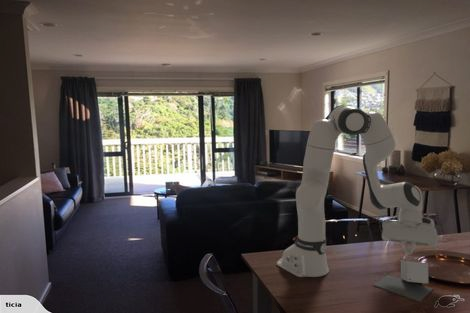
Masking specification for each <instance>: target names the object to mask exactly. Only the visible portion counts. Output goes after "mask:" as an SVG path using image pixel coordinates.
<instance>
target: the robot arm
mask: <svg viewBox="0 0 470 313" xmlns="http://www.w3.org/2000/svg"><path fill="white" fill-rule="evenodd" d="M341 134H345V135H348V136H355V135H360V137H361V139H362V142H363V144H364V147H365V152H364V154H363V155H362V165H363V169H364V170H363V171H364V174H365V178H366V182H367V186H368V192H369V200H370V203H371V205H372V206H373V207H375V208H376V209H378V210H382V211H383V210H386V209H390V208H397V207H398V208H399V212H398V219H385V220H383V221H382V225H381V226H382V233H381V239H382V240H383V241H385V242H392V243H399V244H401V246H402V248H403V251H404V252H403V253H404V254H406V255H407V254H408V255H413V251H414V250H415V249H416V247H417V246H423V247H428V248H436V247H438V244H439V238H438V233H437V232H438V231H437V228H436V227H435V221H434V220H433V219H431V218H428V217H426V216H423V213H422V210H423V193H422V191H421V189H420V188H419V187H418V186H416V185H414V184H412V183H411V182H410V181H409V182H408V181H402V182H396V183H392V184H391V183H390V184H381V182H380V178H379V173H378V169H377V168H378V167H377V166H378V165H380V164H382V162H384V161H385V160H387V159H388V158H389V157H390V156H392V154H393V153H394V151H395V149H396V142H395V141H396V140H395V138H394V137H395V136H394V135H393V133H392V131H391V129H390V127H389V124H388V123H387V121H386V120H385V118H384V117H383V115H382V114H381V113H380V112H378V111H368V112H365V111H364V110H362V109H360V108H359V107H356V106H353V105H349V104H341V105H337V106H335V107H333V108H332V110H331V111H330V112H329V113H328V115H326V117H325V118H321V119H317V120H315V121H314V122H313V123H312V126H311V128H310V130H309V133H308V138H307V142H306V146H305V154H304V158H303V163H302V164H303V166H302V167H303V168H302V175H301V182H300V185H299V186H298V187H297V189H296V191H295V201H296V202H295V203H296V204H295V205H296V211H297V213H296V214H297V228H298V229H297V230H298V231H297V233H298V235H296V236H295V237H293V238H292V241H294V243H293V244H292V245H290V246H289V247H287V248H285V250H284V251H283V253H282V257H281V258H280V259H278V261H276V266H278V267H280V268H281V269H283V270H285V271H287V272H288V273H291V274H292V275H294V276H296V277H297V278H298V277H299V278H303V277H305V278H306V277H308V278H309V277H310V278H318V277H323V276H325V275H326V276H327V275H328V274H329V272H330V269H329V266H328V261H327V255H326V251H327V237H326V217H325V216H326V215H325V197H326V194H327V193H328V192H327V191H328V186H329V180H330V173H331V168H332V163H333V158H334V153H335V148H336V142H337V139H338V137H339V136H340V135H341ZM406 244H407V245H411V247H406Z"/></svg>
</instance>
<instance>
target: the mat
mask: <svg viewBox="0 0 470 313" xmlns="http://www.w3.org/2000/svg"><path fill="white" fill-rule="evenodd" d="M373 286H374V287H377V288H379V289H382V290H385V291H388V292H391V293H394V294H397V295H400V296H402V297H405V298H408V299H411V300H414V301H417V302H419V303H421V302H422V301H423V300H424V299H426V298H427V296H428V295H429V294H430V293H431V292H432V291H433V290H434V289H433V288H431V287H428V286H425V285H421V284H420V283H416V282H407V281H405V280H403V279H401V277H400V278H399V277H397V276H393V275H390V274H387V275H385V276H384V277H382V278H381V279H379V280H378V281H377V282H375V283H374V284H373Z"/></svg>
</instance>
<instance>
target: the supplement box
mask: <svg viewBox="0 0 470 313" xmlns="http://www.w3.org/2000/svg"><path fill="white" fill-rule="evenodd" d="M400 279H403V280H405V281H407V282H413V283H416V284H429V263H427V262H422V261H421V262H420V261H415V260H414V261H412V260H411V261H410V260H403V259H402V260H400Z"/></svg>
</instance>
